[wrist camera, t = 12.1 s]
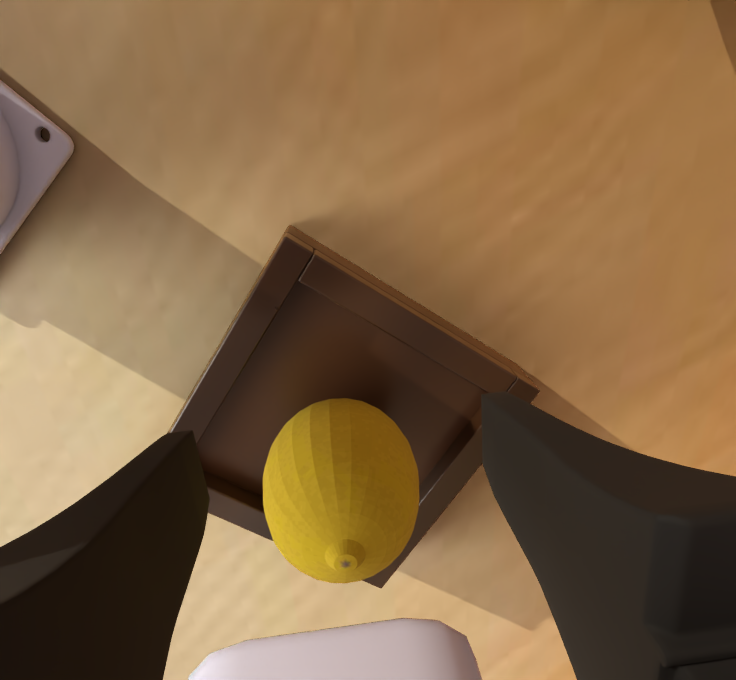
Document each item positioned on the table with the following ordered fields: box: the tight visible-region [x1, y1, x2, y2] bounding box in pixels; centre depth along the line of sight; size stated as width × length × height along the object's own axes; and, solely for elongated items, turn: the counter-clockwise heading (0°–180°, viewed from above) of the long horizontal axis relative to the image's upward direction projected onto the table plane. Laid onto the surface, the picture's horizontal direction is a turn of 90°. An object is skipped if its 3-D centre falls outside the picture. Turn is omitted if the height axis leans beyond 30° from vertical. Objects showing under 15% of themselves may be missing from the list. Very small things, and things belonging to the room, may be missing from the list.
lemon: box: [263, 398, 419, 583], centre depth 19 cm, size 6×6×8 cm
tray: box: [168, 225, 540, 588], centre depth 23 cm, size 12×12×3 cm
